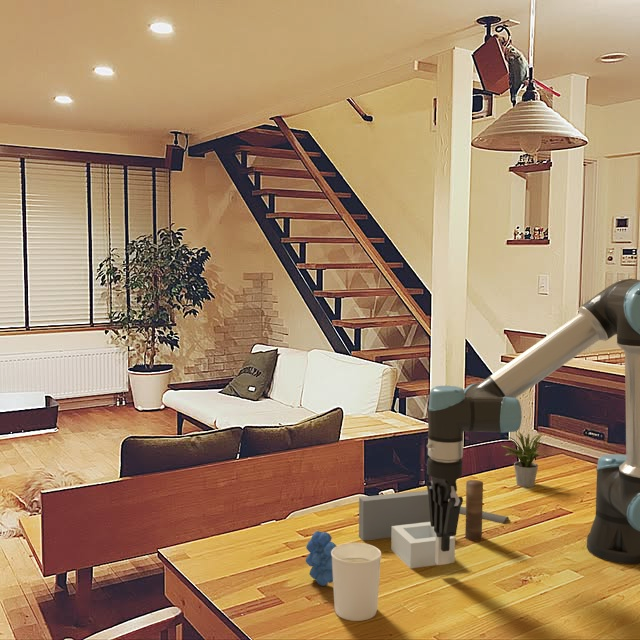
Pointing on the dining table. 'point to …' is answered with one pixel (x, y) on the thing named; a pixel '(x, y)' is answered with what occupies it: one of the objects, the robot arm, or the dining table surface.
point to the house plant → (525, 461)
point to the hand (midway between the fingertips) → (442, 562)
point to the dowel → (474, 510)
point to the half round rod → (488, 516)
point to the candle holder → (356, 580)
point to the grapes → (320, 557)
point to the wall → (391, 513)
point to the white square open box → (417, 544)
